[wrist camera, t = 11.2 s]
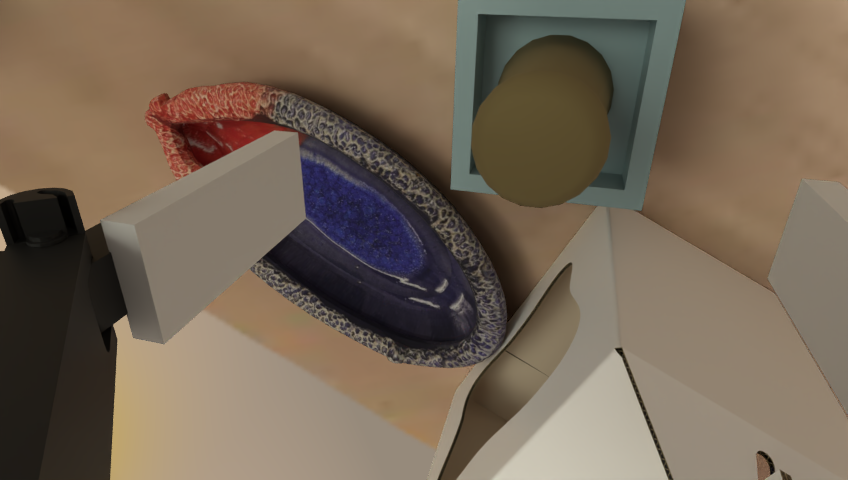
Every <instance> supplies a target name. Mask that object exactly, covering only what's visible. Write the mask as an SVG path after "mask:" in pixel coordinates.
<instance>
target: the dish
mask: <svg viewBox="0 0 848 480" xmlns="http://www.w3.org/2000/svg"><path fill="white" fill-rule="evenodd" d="M149 108H150V109H149V110H148V111H147V112H146V113H145V121H146V123H147V125H148V126H150V127H151V128H153V129H154V130H155V131H156V133H157V136H158V138H159V140H160V142H161V145H162V147H163V150H164V152H165V155H166V158H167V161H168V164H169V166H170V168H171V170H172V172H173V174H174V176H175V178H176V180H179V179H181V178H183V177H185V176H187V175H189V174H191V173H193V172H195V171H197V170H198V169H200V168H202V167H204V166H206V165H208V164H210V163H212V162H214V161H216V160H218V159H220V158H222V157H224V156H226V155H228V154H230V153H232V152H233V151H235V150H237V149H239V148H241V147H243V146H245V145H247V144H249V143H251V142H253V141H255V140H257V139H259V138H261V137H263V136H265V135H267V134H268V133H270V132H272V131H274V130H275V131H286V132H297V133H298V138H299V149H300V160H301V170H302V181H303V192H304V203H305V213H306V219H305V220H304V221H303V222H301V223H300V224H299V225H298V226H297V227H296V228H295V229H294V230H292V231H291V232H290V233H289V234H288V235H287V236H286V237H285V238H283V239H282V240H281V241H280V242H279V243H278V244H277V245H276V246H274V247H273V248H272V249H271V250H270V251H269V252H268V253H266V254H265V255H264V256H263V257H262V258H261V259H260V260H259V261H257V262H256V263H255V264H254V265H253V266H252V267H251V268H250V270H251V271H252V272H254V273H255V274H256V275H257V276H258V277H260V278H261V279H262V280H263V281H264V282H266V283H267V284H268V285H269V286H271V287H272V288H273V289H275V290H276V291H277V292H279V293H280V294H281V295H283V296H284V297H285V298H287V299H288V300H289V301H291V302H292V303H294V304H295V305H297V306H298V307H300V308H301V309H303V310H304V311H306V312H307V313H309V314H310V315H312V316H313V317H315V318H317V319H318V320H320V321H322V322H323V323H325V324H327V325H328V326H330V327H332V328H333V329H335V330H337V331H339V332H341V333H342V334H344V335H346V336H348V337H350V338H352V339H353V340H355V341H357V342H359V343H361V344H363V345H365V346H367V347H368V348H370V349H372V350H374V351H376V352H378V353H380V354H382V355H385V356H387V358H388V360H389V361H391V362H393V363H407V364H412V365H420V366H429V367H443V368H454V367H464V366H470V365H473V364H476V363H479V362H482V361H484V360H485V359H487V358H488V357H490V356H491V355H493V354H494V353H495V351H496V350H497V349H498V348H499V347H500V345H501V343H502V340H503V338H504V335H505V332H506V322H507V309H506V301H505V296H504V293H503V290H502V287H501V283H500V280H499V278H498V276H497V274H496V271H495V269H494V267H493V265H492V263H491V261H490V259H489V257H488V256H487V254H486V252H485V251H484V249H483V247H482V246H481V244H480V242H479V241H478V239H477V238H476V236H475V235H474V233H473V231H472V230H471V228H470V227H469V226H468V224H467V223H466V222H465V220H464V219H463V218H462V216H461V215H460V214H459V212H458V211H457V210H456V209H455V208H454V207H453V205H452V204H451V203H450V202H449V201H448V200H447V199H446V198H445V196H444V195H443V194H442V193H441V192H440V191H439V190H438V189H437V188H436V187H435V186H434V185H433V184H432V183H431V182H430V181H429V180H428V179H427V178H426V177H425V176H424V175H423V174H422V173H421V172H419V171H418V170H417V169H416V168H415V167H413V166H412V165H411V164H410V163H409V162H407V161H406V160H405V159H404V158H403V157H401V156H400V155H399V154H398V153H396V152H395V151H394V150H392V149H391V148H389V147H388V146H387V145H385V144H384V143H383V142H381V141H380V140H379V139H377V138H376V137H374V136H372V135H371V134H369V133H368V132H366V131H365V130H363V129H362V128H360V127H359V126H357V125H356V124H354V123H352V122H350V121H349V120H347V119H345V118H344V117H342V116H340V115H338V114H337V113H335V112H333V111H331V110H329V109H327V108H325V107H323V106H321V105H319V104H317V103H314V102H312V101H310V100H308V99H306V98H303V97H301V96H299V95H297V94H294V93H291V92H288V91H285V90H282V89H278V88H275V87H272V86H269V85H262V84H255V83H249V82H238V83H226V84H221V85H215V86H200V87H195V88H190V89H186V90H185V91H183V92H181V93H180V94H178V95H176V96H175V97H173V98H171V99H170V98H169V96H168V94H165V93H164V94H161V95H159V96H157V97H155V98H153V99H152V100H151V102H150V104H149Z"/></svg>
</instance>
